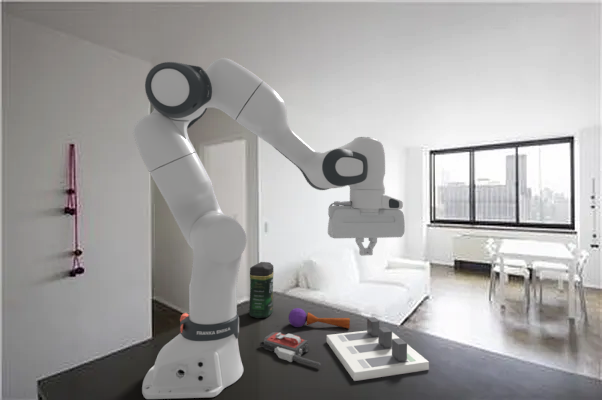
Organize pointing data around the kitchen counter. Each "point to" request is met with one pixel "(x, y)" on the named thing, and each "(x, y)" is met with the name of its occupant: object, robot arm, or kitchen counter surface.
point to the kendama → (314, 319)
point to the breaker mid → (385, 337)
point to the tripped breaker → (399, 349)
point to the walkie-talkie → (287, 347)
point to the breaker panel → (372, 356)
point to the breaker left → (373, 326)
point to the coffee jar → (261, 290)
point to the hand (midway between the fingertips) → (365, 255)
